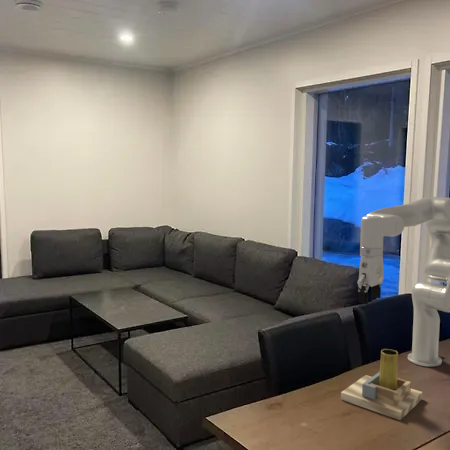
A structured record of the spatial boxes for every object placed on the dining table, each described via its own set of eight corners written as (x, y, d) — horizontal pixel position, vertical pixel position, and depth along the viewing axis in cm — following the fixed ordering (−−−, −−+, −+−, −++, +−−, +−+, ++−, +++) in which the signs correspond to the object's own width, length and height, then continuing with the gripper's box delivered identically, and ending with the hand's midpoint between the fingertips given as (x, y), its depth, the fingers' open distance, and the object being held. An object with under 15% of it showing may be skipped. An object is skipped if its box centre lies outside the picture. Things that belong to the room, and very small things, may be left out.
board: (365, 381, 174) (366, 364, 173) (422, 399, 160) (422, 380, 160) (340, 399, 160) (341, 380, 160) (400, 420, 147) (401, 400, 146)
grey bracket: (381, 381, 168) (381, 370, 167) (393, 384, 165) (393, 373, 164) (362, 395, 157) (362, 383, 156) (374, 399, 154) (374, 387, 154)
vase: (400, 398, 156) (402, 355, 154) (381, 398, 156) (382, 355, 154) (394, 389, 162) (395, 348, 160) (375, 389, 162) (377, 348, 160)
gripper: (370, 256, 158) (368, 307, 160) (392, 249, 170) (390, 297, 172) (349, 254, 163) (347, 303, 165) (372, 247, 175) (370, 293, 177)
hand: (369, 300), depth 169 cm, fingers open, 9 cm apart
